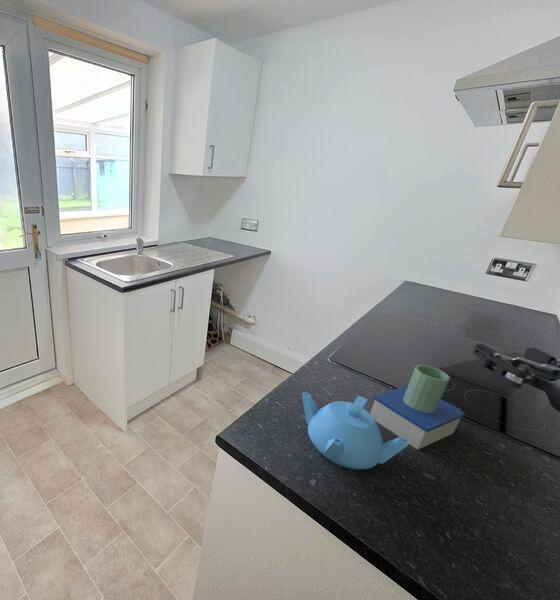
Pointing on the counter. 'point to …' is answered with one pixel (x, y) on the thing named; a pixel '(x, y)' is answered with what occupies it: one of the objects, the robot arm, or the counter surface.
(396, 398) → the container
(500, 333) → the counter surface
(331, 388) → the counter surface
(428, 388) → the utensil cup
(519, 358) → the robot arm
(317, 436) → the teapot
